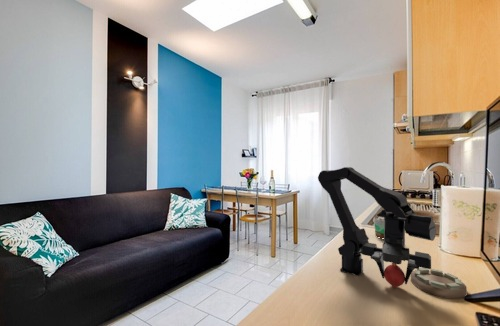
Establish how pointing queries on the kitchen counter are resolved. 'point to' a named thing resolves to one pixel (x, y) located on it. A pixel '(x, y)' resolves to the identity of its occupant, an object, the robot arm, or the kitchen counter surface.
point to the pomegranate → (394, 275)
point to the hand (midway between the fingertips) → (394, 280)
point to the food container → (379, 227)
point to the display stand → (438, 283)
